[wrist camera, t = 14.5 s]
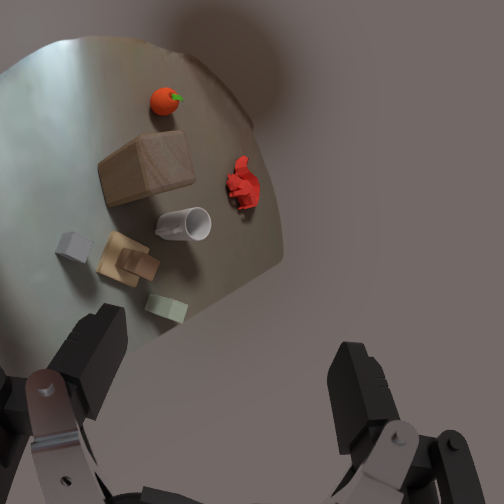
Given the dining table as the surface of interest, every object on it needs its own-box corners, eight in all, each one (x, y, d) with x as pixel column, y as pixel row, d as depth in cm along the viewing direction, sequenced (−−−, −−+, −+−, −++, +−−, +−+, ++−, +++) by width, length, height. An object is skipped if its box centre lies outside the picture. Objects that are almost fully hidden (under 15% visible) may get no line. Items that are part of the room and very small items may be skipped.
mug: (175, 209, 71) (207, 204, 63) (181, 236, 73) (214, 235, 65) (139, 219, 64) (168, 215, 56) (147, 248, 66) (176, 249, 58)
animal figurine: (244, 156, 89) (257, 153, 86) (253, 205, 92) (266, 203, 89) (216, 158, 81) (229, 154, 78) (227, 212, 84) (240, 210, 81)
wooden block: (135, 154, 62) (186, 127, 49) (145, 197, 65) (199, 182, 52) (95, 163, 55) (137, 134, 42) (105, 209, 58) (151, 195, 45)
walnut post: (130, 273, 60) (152, 281, 53) (114, 265, 57) (134, 272, 51) (137, 255, 61) (160, 261, 54) (122, 247, 58) (143, 252, 52)
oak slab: (129, 286, 63) (135, 287, 61) (95, 271, 57) (99, 272, 55) (143, 248, 66) (149, 248, 64) (110, 231, 60) (115, 230, 57)
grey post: (71, 260, 53) (85, 263, 46) (54, 252, 50) (65, 253, 43) (79, 242, 54) (93, 241, 47) (62, 233, 51) (74, 231, 44)
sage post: (158, 314, 68) (182, 323, 61) (144, 309, 65) (167, 318, 58) (163, 298, 69) (188, 305, 62) (149, 293, 66) (173, 299, 60)
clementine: (171, 95, 68) (187, 85, 63) (173, 120, 69) (190, 110, 65) (143, 93, 62) (159, 81, 58) (145, 119, 64) (161, 108, 59)
